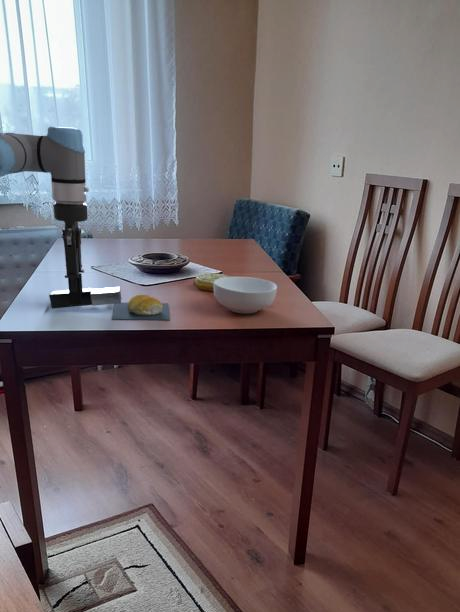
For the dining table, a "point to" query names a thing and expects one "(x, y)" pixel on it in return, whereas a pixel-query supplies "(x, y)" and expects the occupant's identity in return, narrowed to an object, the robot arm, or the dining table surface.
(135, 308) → the bread roll
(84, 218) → the robot arm
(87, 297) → the black and grey bar
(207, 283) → the decorated donut
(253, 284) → the cereal bowl
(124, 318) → the placemat
